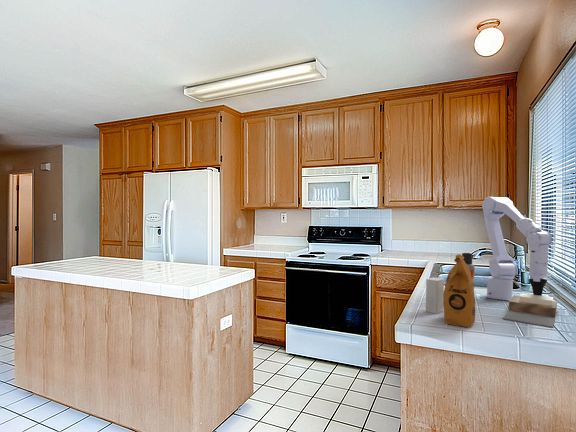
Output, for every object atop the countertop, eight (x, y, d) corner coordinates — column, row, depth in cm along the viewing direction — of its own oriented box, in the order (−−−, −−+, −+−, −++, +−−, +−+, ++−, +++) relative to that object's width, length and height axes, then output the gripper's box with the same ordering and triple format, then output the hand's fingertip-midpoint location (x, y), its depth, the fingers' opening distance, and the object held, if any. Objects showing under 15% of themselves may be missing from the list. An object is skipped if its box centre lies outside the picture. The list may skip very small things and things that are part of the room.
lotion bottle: (458, 301, 149) (460, 252, 149) (457, 298, 154) (459, 251, 154) (474, 303, 147) (475, 253, 147) (472, 300, 152) (474, 252, 152)
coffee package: (439, 324, 118) (441, 256, 118) (444, 315, 129) (446, 253, 129) (473, 329, 113) (475, 259, 113) (476, 319, 124) (477, 255, 124)
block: (519, 301, 137) (519, 296, 137) (521, 298, 142) (521, 293, 142) (552, 306, 130) (552, 300, 130) (553, 302, 136) (553, 297, 136)
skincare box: (432, 308, 137) (433, 277, 137) (443, 311, 134) (444, 278, 134) (425, 311, 133) (425, 278, 133) (436, 314, 130) (437, 280, 130)
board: (508, 310, 137) (509, 301, 136) (513, 304, 147) (513, 295, 147) (555, 318, 128) (555, 308, 128) (556, 310, 138) (556, 301, 138)
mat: (502, 319, 125) (502, 318, 125) (508, 310, 136) (508, 309, 136) (553, 327, 116) (553, 326, 116) (555, 318, 127) (555, 317, 127)
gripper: (550, 265, 132) (549, 302, 132) (552, 261, 143) (551, 296, 143) (527, 263, 136) (526, 299, 136) (530, 260, 148) (529, 293, 148)
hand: (537, 297), depth 140 cm, fingers closed
